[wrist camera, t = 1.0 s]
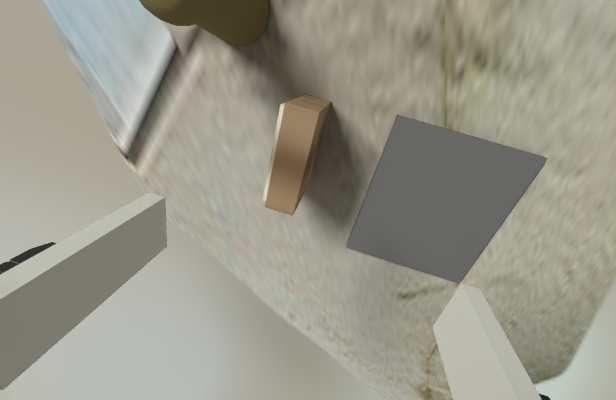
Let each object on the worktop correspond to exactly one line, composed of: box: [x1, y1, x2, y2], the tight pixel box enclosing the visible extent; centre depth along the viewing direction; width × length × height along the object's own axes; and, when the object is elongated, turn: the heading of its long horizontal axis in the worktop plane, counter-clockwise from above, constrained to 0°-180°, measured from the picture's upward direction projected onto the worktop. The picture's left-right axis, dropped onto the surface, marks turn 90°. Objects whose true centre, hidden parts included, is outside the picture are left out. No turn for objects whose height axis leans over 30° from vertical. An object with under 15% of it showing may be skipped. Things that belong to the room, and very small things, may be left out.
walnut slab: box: [263, 95, 331, 216], centre depth 25 cm, size 9×3×8 cm, turn 166°
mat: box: [346, 115, 547, 283], centre depth 28 cm, size 16×14×1 cm
